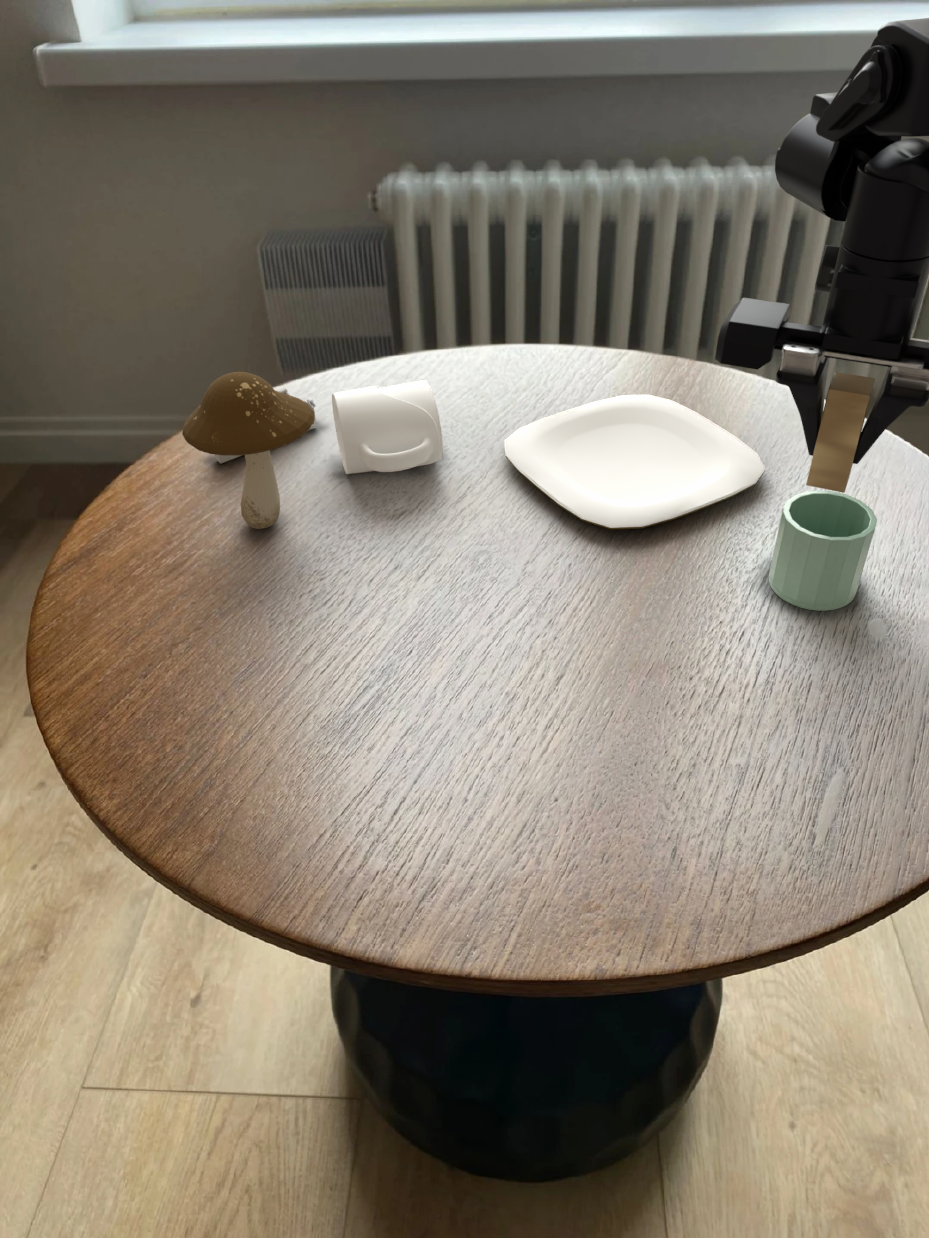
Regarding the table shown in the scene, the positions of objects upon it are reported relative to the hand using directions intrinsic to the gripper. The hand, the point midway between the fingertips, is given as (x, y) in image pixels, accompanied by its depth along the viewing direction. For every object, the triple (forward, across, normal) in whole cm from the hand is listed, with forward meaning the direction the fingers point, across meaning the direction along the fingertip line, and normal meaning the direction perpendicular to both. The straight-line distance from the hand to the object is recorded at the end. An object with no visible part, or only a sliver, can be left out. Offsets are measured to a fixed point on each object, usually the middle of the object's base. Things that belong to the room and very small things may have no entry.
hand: (834, 457), depth 72 cm
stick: (+2, 0, 0) cm, 2 cm away
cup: (+13, -1, -1) cm, 13 cm away
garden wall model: (+13, +55, -4) cm, 57 cm away
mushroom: (+13, +47, +8) cm, 50 cm away
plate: (+13, +19, -13) cm, 27 cm away
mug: (+13, +41, -5) cm, 43 cm away
